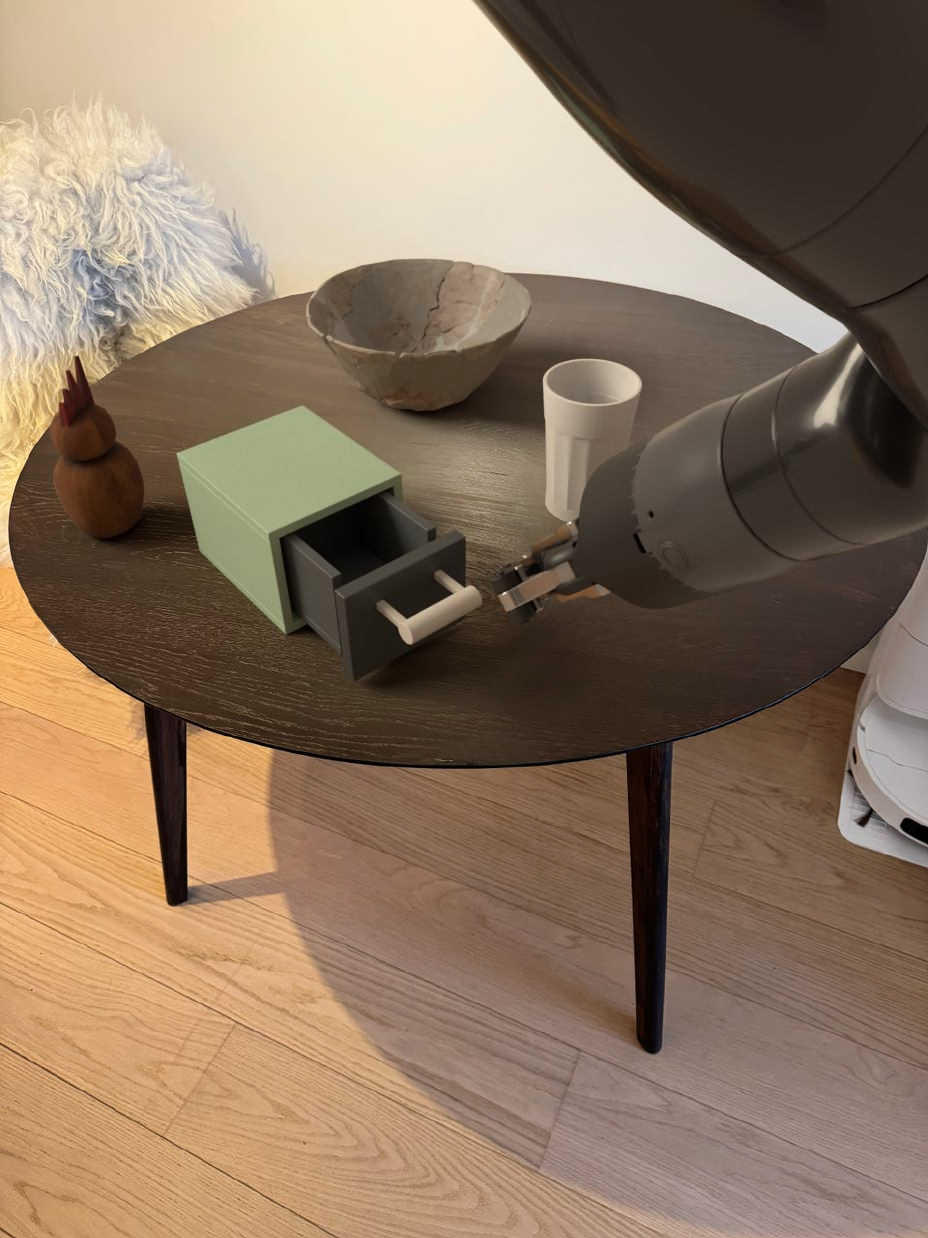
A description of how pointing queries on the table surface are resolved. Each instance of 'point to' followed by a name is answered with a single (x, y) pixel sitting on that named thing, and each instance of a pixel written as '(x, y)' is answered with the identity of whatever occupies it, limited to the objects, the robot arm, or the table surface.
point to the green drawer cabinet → (274, 497)
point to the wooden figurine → (93, 464)
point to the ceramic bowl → (419, 327)
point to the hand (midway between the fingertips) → (508, 586)
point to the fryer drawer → (376, 580)
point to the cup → (584, 425)
